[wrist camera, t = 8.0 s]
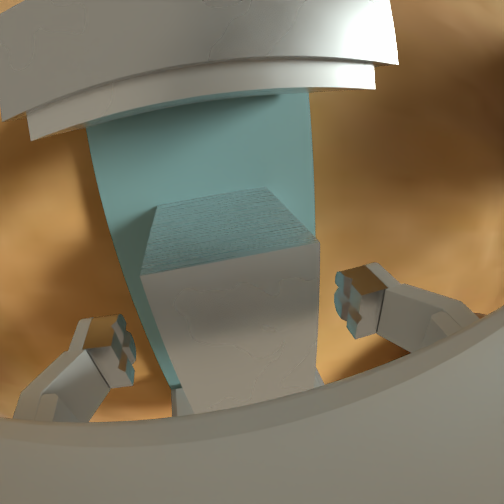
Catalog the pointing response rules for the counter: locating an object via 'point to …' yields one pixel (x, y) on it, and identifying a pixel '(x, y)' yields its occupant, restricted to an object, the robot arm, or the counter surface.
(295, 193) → the vise
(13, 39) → the jaw
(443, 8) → the counter surface
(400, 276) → the counter surface
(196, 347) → the block
